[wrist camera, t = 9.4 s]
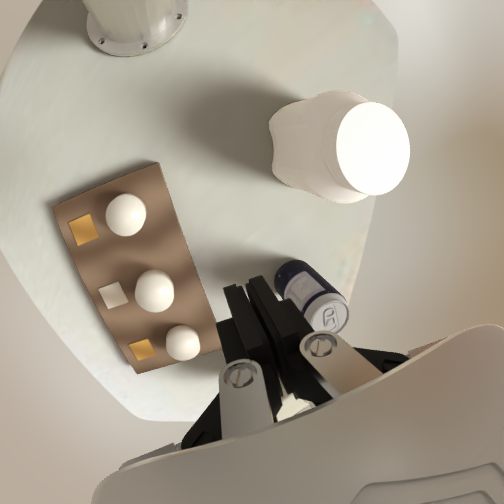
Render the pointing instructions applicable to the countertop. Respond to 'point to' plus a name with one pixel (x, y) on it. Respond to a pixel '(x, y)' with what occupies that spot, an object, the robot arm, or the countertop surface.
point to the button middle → (154, 291)
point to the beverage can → (312, 296)
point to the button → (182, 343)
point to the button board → (137, 268)
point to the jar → (339, 146)
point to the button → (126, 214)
